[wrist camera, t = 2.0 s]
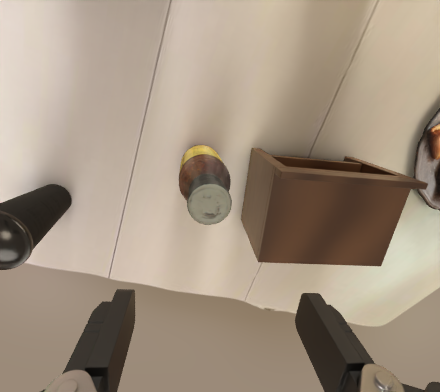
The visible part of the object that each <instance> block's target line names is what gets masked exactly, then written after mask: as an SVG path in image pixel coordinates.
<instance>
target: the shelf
mask: <svg viewBox="0 0 440 392" xmlns="http://www.w3.org/2000/svg"><path fill="white" fill-rule="evenodd" d="M427 186H428V183H425V182H423V181H420V180H417V179H414V178H411V177H408V176H405V175H403V174H400V173H397V172H394V171H391V170H388V169H385V168H382V167H380V166H377V165H374V164H371V163H368V162H365V161H362V160H359V159H356V158H354V157H345V159H344V162H342V161H330V160H319V159H308V158H297V157H286V156H275V155H269V154H267V153H266V152H264V151H263V150H262V149H259V148H252V150H251V156H250V163H249V170H248V176H247V183H246V190H245V196H244V203H243V210H242V217H241V221H242V223H243V226H244V228H245V231H246V233H247V235H248V238H249V240H250V243H251V245H252V248H253V250H254V253H255V255H256V258H257V260H258V262H270V263H300V264H330V265H360V266H381V265H382V262H383V260H384V257H385V254H386V252H387V249H388V247H389V244H390V241H391V239H392V236H393V234H394V231H395V228H396V226H397V223H398V221H399V218H400V215H401V213H402V210H403V208H404V205H405V202H406V200H407V197H408V195H409V192H410V190H411V189H423V190H426V189H427Z"/></svg>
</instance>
